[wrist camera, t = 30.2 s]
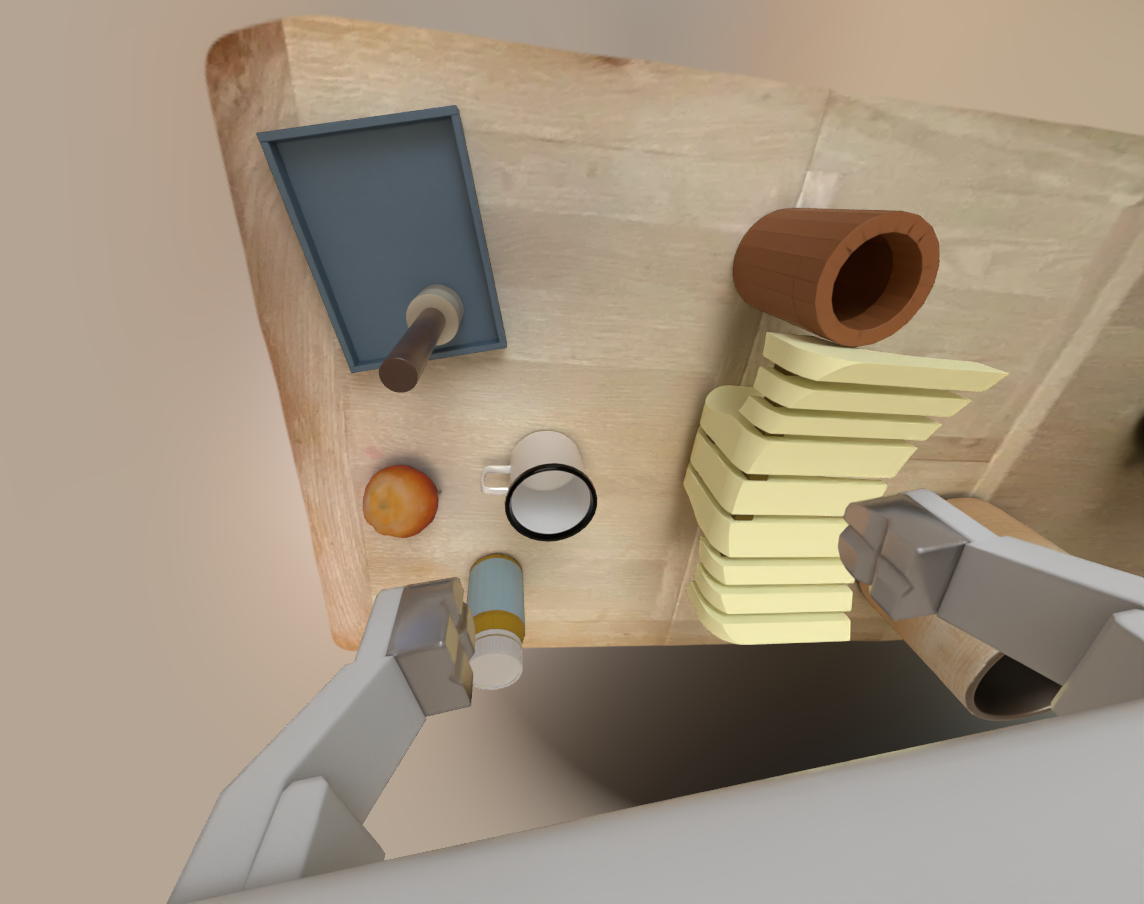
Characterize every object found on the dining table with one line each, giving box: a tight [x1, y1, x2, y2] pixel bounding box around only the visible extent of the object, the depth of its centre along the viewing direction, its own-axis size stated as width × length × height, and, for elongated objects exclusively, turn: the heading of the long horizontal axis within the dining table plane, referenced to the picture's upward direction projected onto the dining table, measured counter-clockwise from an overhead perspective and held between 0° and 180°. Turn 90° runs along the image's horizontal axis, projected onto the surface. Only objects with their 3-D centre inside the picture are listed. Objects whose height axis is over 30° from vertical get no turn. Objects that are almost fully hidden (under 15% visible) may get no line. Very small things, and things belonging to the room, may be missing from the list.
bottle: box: [467, 554, 525, 690], centre depth 54 cm, size 7×7×15 cm
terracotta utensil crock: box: [733, 208, 940, 347], centre depth 39 cm, size 9×9×14 cm
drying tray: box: [257, 105, 507, 373], centre depth 40 cm, size 19×15×2 cm
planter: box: [859, 498, 1070, 721], centre depth 61 cm, size 22×22×20 cm
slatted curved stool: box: [683, 332, 1009, 645], centre depth 47 cm, size 30×16×18 cm, turn 174°
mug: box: [481, 431, 597, 542], centre depth 49 cm, size 12×10×9 cm
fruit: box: [363, 465, 441, 538], centre depth 50 cm, size 8×8×8 cm
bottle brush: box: [379, 284, 464, 392], centre depth 35 cm, size 4×4×19 cm
